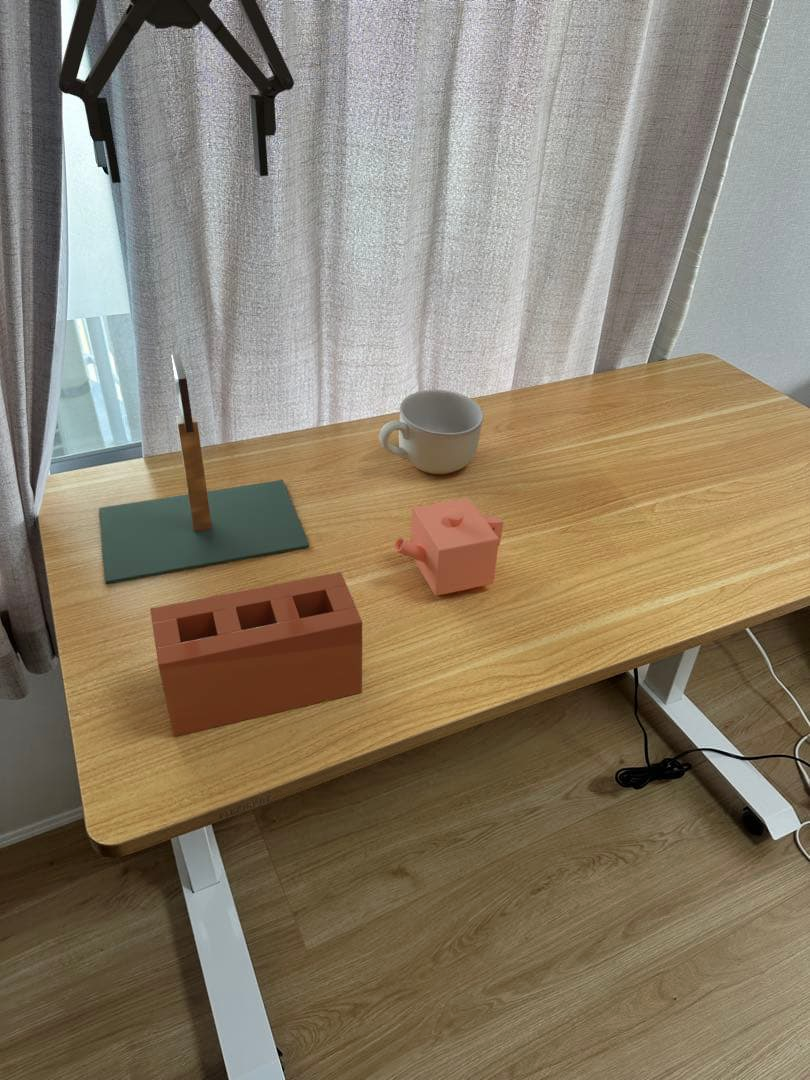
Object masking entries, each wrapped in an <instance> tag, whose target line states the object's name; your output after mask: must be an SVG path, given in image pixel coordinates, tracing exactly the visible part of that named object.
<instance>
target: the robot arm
mask: <svg viewBox="0 0 810 1080" xmlns="http://www.w3.org/2000/svg"><path fill="white" fill-rule="evenodd" d="M127 1H128V2H129V5H128V6H127V8H126V9H125V11H124V13H123V14H122V16H121V18H120V20H119V22H118V24H117V26H116V27H115V29H114V31H113V33H112V34H111V36H110V38H109V39H108V41H107V43H106V45H105V46H104V48H103V49H102V51H101V52H100V55H99V56H98V58H97V59H96V61H95V63H94V64H93V66H92V68H91V69H90V71H89V73H88V74H87V76H86V78H85V80H83V79H80V78H78V75H79V71H80V67H81V63H82V60H83V56H84V53H85V49H86V45H87V42H88V39H89V36H90V35H89V34H90V31H91V27H92V24H93V20H94V16H95V12H96V9H97V4H98V0H78V2H77V6H76V11H75V13H74V18H73V21H72V24H71V28H70V31H69V32H70V33H69V36H68V40H67V44H66V47H65V50H64V51H65V52H64V55H63V58H62V59H63V60H62V63H61V66H60V70H59V73H58V80H57V81H58V82H57V83H58V88H59V90H60V91H61V92H62V93H63V94H66V95H71V96H74V97H77V98H79V99H80V101H82V103H83V105H84V109H85V115H86V120H87V125H88V133H89V136H90V138H91V140H92V141H93V142H104V146H105V151H106V156H107V162H108V168H109V174H110V178H111V183H112V184H121V183H122V181H121V175H120V169H119V163H118V162H119V161H118V157H117V152H116V144H115V139H114V134H113V128H112V122H111V116H110V110H109V104H108V100H107V97H106V96H105V97H100V94H101V93H102V91H103V89H104V87H105V86H106V84H107V83H108V81H109V79H110V78H111V76H112V75H113V73H114V71H115V69H116V68H117V66H118V64H119V63H120V61H121V59H122V58H123V56H124V54H125V53H126V51H127V50H128V48H129V46H130V44H131V43H132V41H133V40H134V38H135V37H136V35H137V34H138V33H139V31H140V29H141V28H142V27H143V24H144V23H146V24H147V25H148V26H150V27H152V28H154V29H157V30H160V29H161V30H164V29H165V30H166V29H168V28H171V27H176V28H179V29H183V30H193V29H194V28H196V27H197V26H198V25H199V24H200V23H201V24H202V25H203V26H204V27H205V28H206V29H207V31H208V32H209V34H211V35H212V36H213V38H214V39H215V40H216V41H217V43H218V44H219V45H220V47H222V48H223V50H224V51H225V52H226V53H227V54H228V56H229V57H230V58H231V59H232V61H233V62H234V63H235V65H236V66H237V67H238V68H239V70H241V72H242V74H244V75H245V77H246V78H247V79H248V80H249V81H250V83H251V84H252V85H253V86H254V87H255V89H256V90H257V92H258V93H257V94H249V102H250V104H249V105H250V115H251V116H250V117H251V131H252V144H253V145H252V146H253V158H254V159H253V160H254V169H255V171H256V173H257V174H258V175H259V176H260V177H268V176H269V166H268V165H269V163H268V152H267V151H268V149H267V137H272V136H276V132H277V121H276V120H277V119H276V97H277V96H278V95H279V94H280V93H283V92H285V91H291V90H292V89H293V88H294V86H295V81H294V78H293V76H292V74H291V71H290V69H289V67H288V65H287V63H286V61H285V59H284V57H283V55H282V53H281V51H280V48H279V47H278V44H277V42H276V40H275V38H274V36H273V34H272V32H271V30H270V27H269V25H268V23H267V21H266V19H265V17H264V15H263V13H262V11H261V9H260V7H259V4H258V2H257V0H236V1H237V4H238V6H239V9H240V10H241V13H242V15H243V17H244V19H245V21H246V23H247V25H248V28H249V30H250V31H251V33H252V35H253V38H254V39H255V41H256V43H257V45H258V47H259V49H260V52H261V53H262V56H263V57H264V59H265V61H266V64H267V66H268V68H269V71H270V72H271V74H272V76H269V77H266V75H265V74H264V73H263V71H262V70H261V69H260V68H259V66H258V65H257V64H256V63H255V61H254V60H253V59H252V57H250V55H249V54H248V52H247V51H246V50H245V49H244V48H243V46H242V45H241V44H240V43H239V41H237V39H236V38H235V37H234V35H233V34H232V33H231V31H230V30H229V29H228V28H227V26H225V24H224V22H223V21H222V19H220V17H219V16H218V15H217V14H216V13H215V11H214V10H213V8H211V6H210V5H211V3H212V1H213V0H127Z"/></svg>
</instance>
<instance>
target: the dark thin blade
mask: <svg viewBox="0 0 810 1080" xmlns="http://www.w3.org/2000/svg"><path fill="white" fill-rule="evenodd" d="M171 359H172V360H171V361H172V367H173V368H172V369H173V375H174V381H175V387H176V393H177V394H176V395H177V400H178V406H179V411H180V414H179V415H175V420H176V426H177V433H178V439H179V445H180V452H181V453H180V454H181V458H182V466H183V471H184V478H185V485H186V491H187V494H188V498H189V504H190V511H191V517H192V523H193V527H194V531H195V532H197V531H203V530H209V529H212V524H211V517H210V510H209V502H208V495H207V491H208V488H207V481H206V474H205V466H204V459H203V451H202V445H201V438H200V431H199V430H200V429H199V423H198V419H197V416H196V413H192V406H191V400H190V393H189V386H188V385H189V384H188V377H187V375H186V373H185V368H184V364H183V362H182V357H181V355H180V353H172V354H171Z"/></svg>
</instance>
